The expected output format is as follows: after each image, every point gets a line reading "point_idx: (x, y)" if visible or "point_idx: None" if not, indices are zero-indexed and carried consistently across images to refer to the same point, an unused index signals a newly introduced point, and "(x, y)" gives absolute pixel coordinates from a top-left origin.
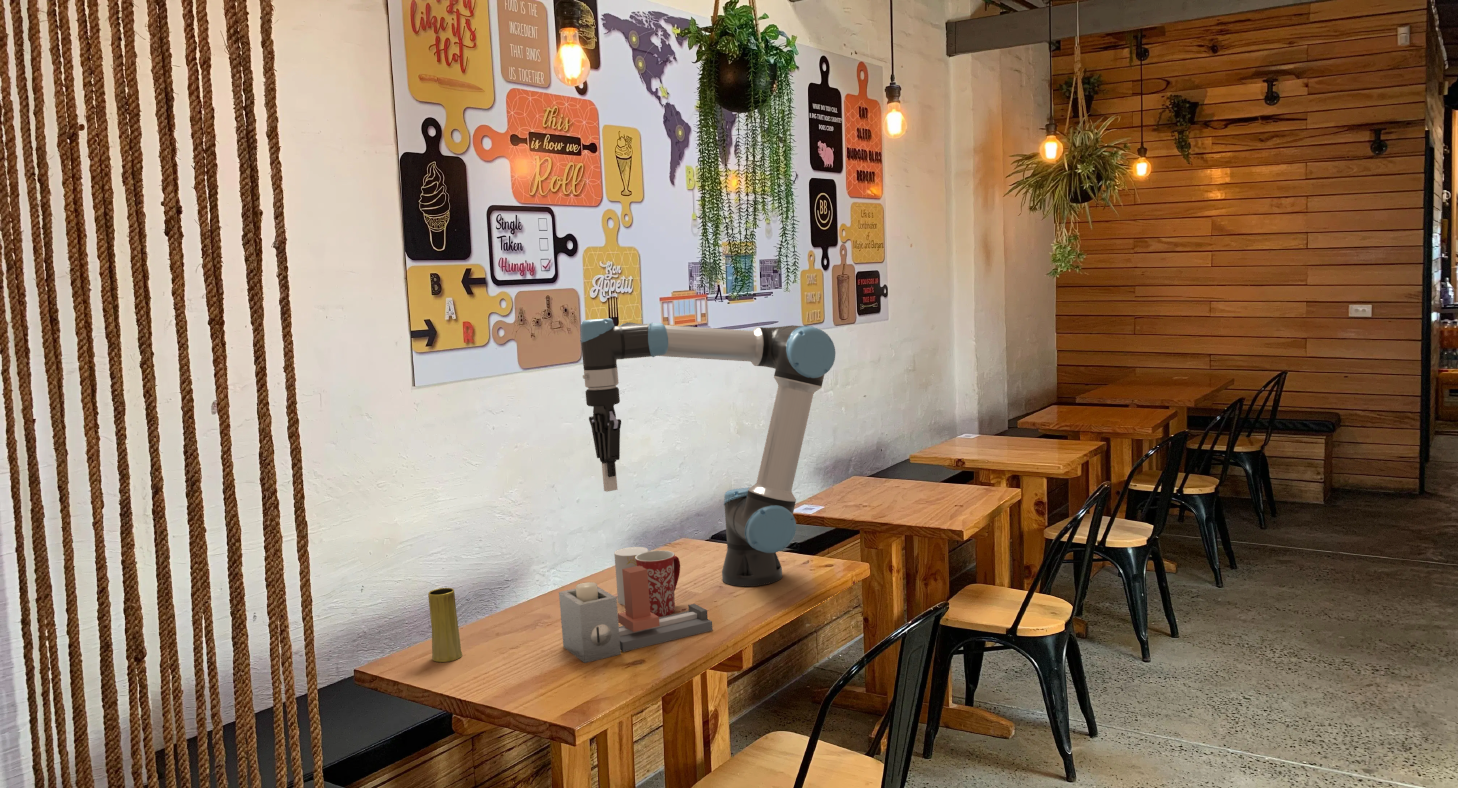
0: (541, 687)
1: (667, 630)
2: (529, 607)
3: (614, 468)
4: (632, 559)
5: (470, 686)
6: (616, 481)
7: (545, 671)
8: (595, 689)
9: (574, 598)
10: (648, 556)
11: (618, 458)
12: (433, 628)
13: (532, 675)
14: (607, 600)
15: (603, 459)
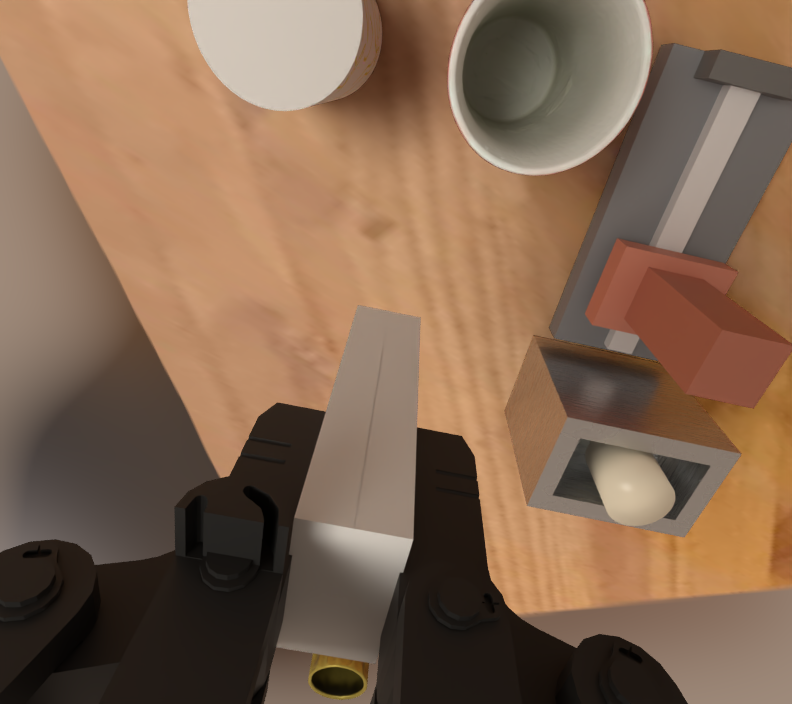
0: (645, 535)
1: (728, 236)
2: (150, 299)
3: (475, 518)
4: (352, 69)
5: (525, 586)
6: (416, 360)
7: None
8: (754, 494)
9: None
10: (464, 49)
11: (660, 688)
12: None
13: (582, 517)
14: (724, 473)
15: (269, 673)
